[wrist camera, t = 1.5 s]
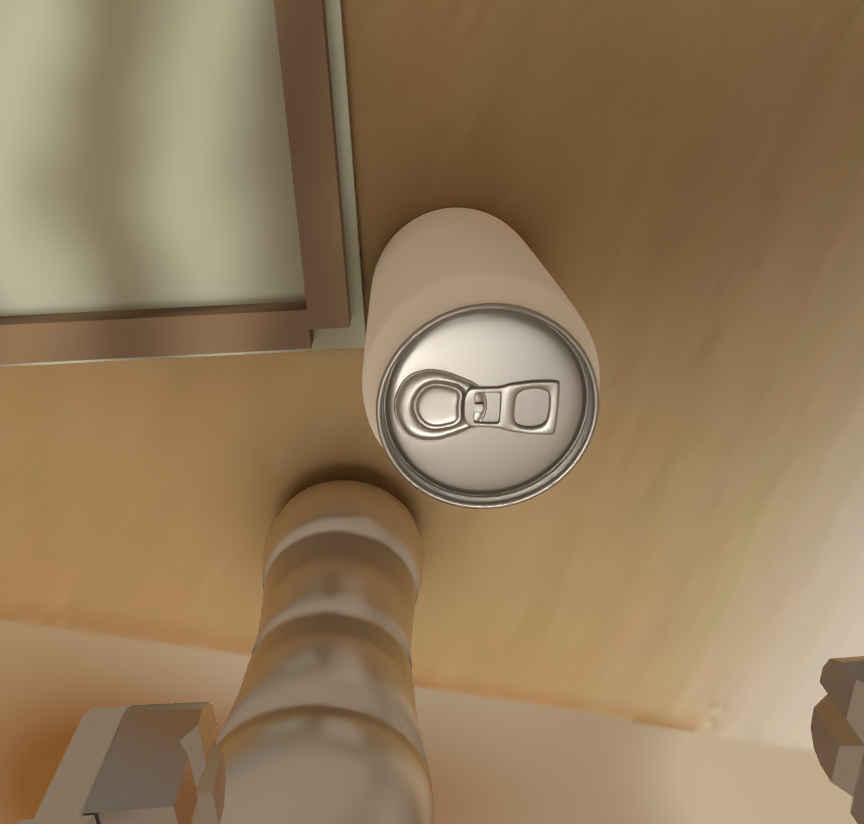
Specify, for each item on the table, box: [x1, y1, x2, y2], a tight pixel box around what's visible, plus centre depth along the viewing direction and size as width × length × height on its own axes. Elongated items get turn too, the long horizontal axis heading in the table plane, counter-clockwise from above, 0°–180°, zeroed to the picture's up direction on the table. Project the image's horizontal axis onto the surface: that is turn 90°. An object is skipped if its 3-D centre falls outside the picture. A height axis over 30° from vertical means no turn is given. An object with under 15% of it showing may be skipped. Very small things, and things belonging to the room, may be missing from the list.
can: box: [362, 208, 600, 509], centre depth 24 cm, size 6×6×12 cm
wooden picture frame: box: [0, 0, 366, 367], centre depth 26 cm, size 16×16×2 cm
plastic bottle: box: [215, 480, 435, 824], centre depth 25 cm, size 6×7×20 cm
